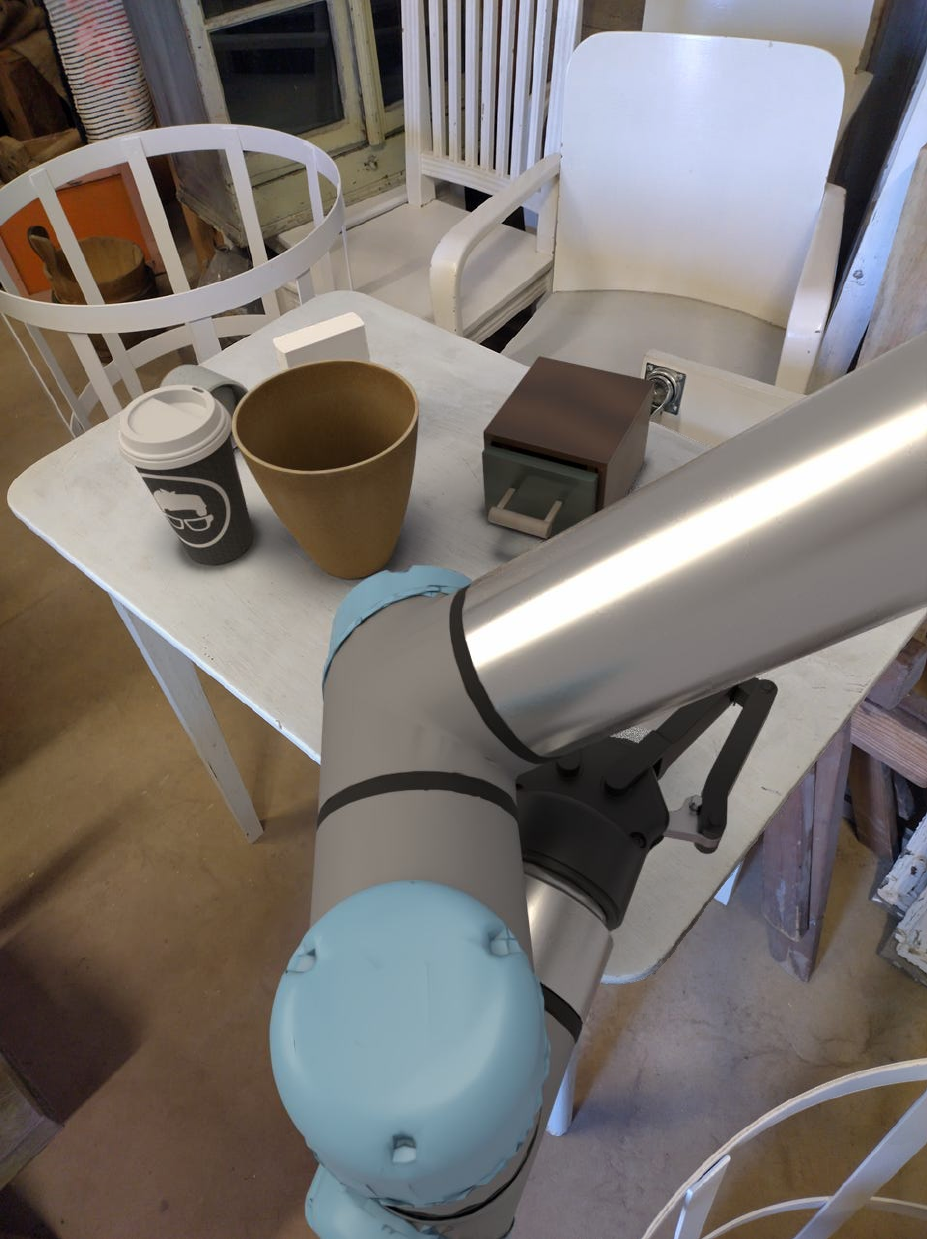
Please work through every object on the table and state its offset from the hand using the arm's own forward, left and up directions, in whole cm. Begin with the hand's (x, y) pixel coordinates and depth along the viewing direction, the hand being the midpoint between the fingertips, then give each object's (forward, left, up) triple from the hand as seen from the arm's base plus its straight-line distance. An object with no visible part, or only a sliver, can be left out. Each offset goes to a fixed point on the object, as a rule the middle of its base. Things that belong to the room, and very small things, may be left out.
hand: (684, 569), depth 51 cm
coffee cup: (+44, -2, -17) cm, 47 cm away
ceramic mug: (+55, -14, -17) cm, 59 cm away
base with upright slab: (+42, -21, -17) cm, 50 cm away
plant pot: (+31, -6, -17) cm, 36 cm away
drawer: (+16, -18, -16) cm, 29 cm away
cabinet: (+16, -22, -16) cm, 32 cm away
